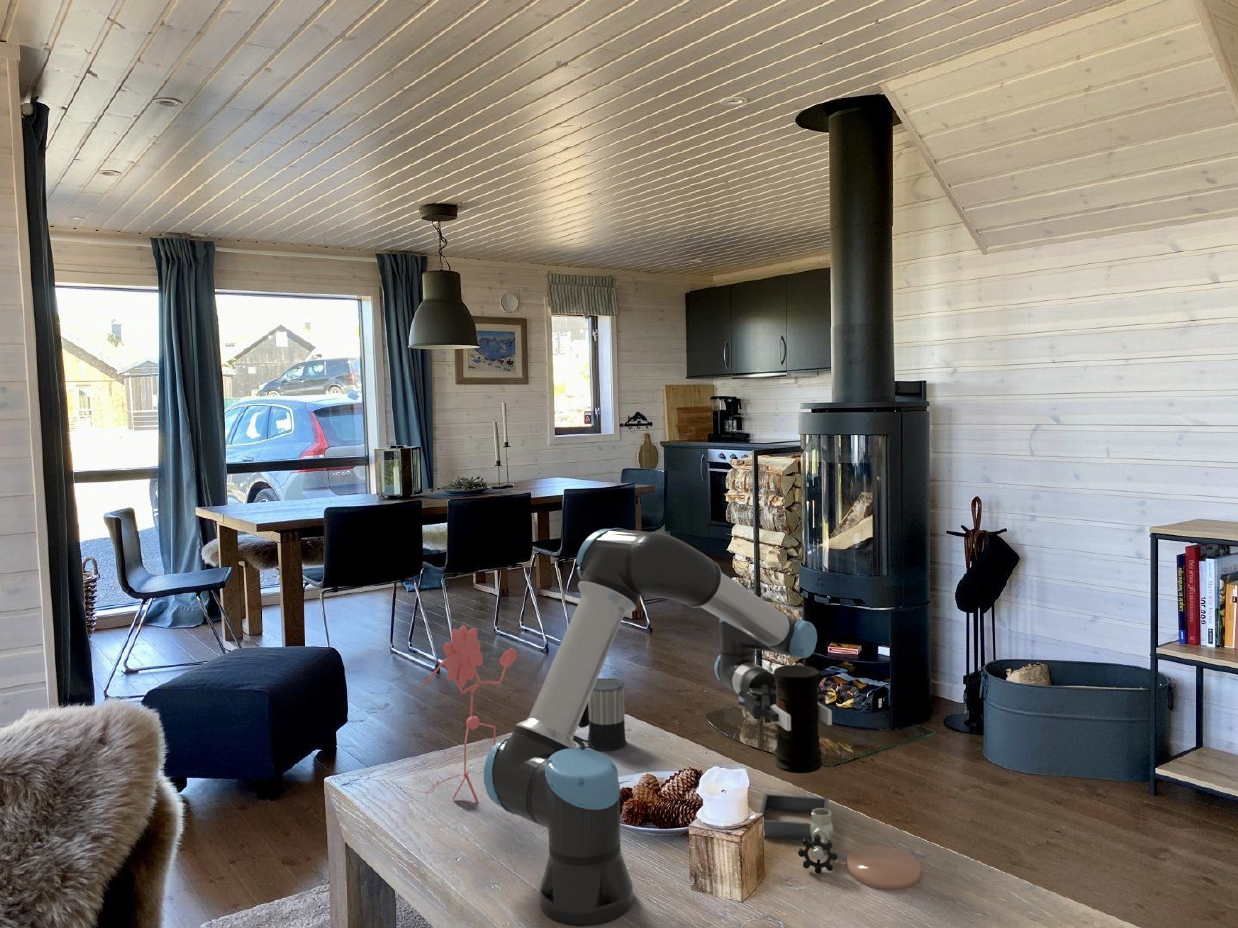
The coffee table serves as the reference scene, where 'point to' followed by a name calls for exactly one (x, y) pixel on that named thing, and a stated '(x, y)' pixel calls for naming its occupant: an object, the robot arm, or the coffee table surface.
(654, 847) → the coffee table surface
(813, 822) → the valve
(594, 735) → the milk frother
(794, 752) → the container
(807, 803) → the collar
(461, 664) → the figurine
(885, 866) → the peach soap bar
